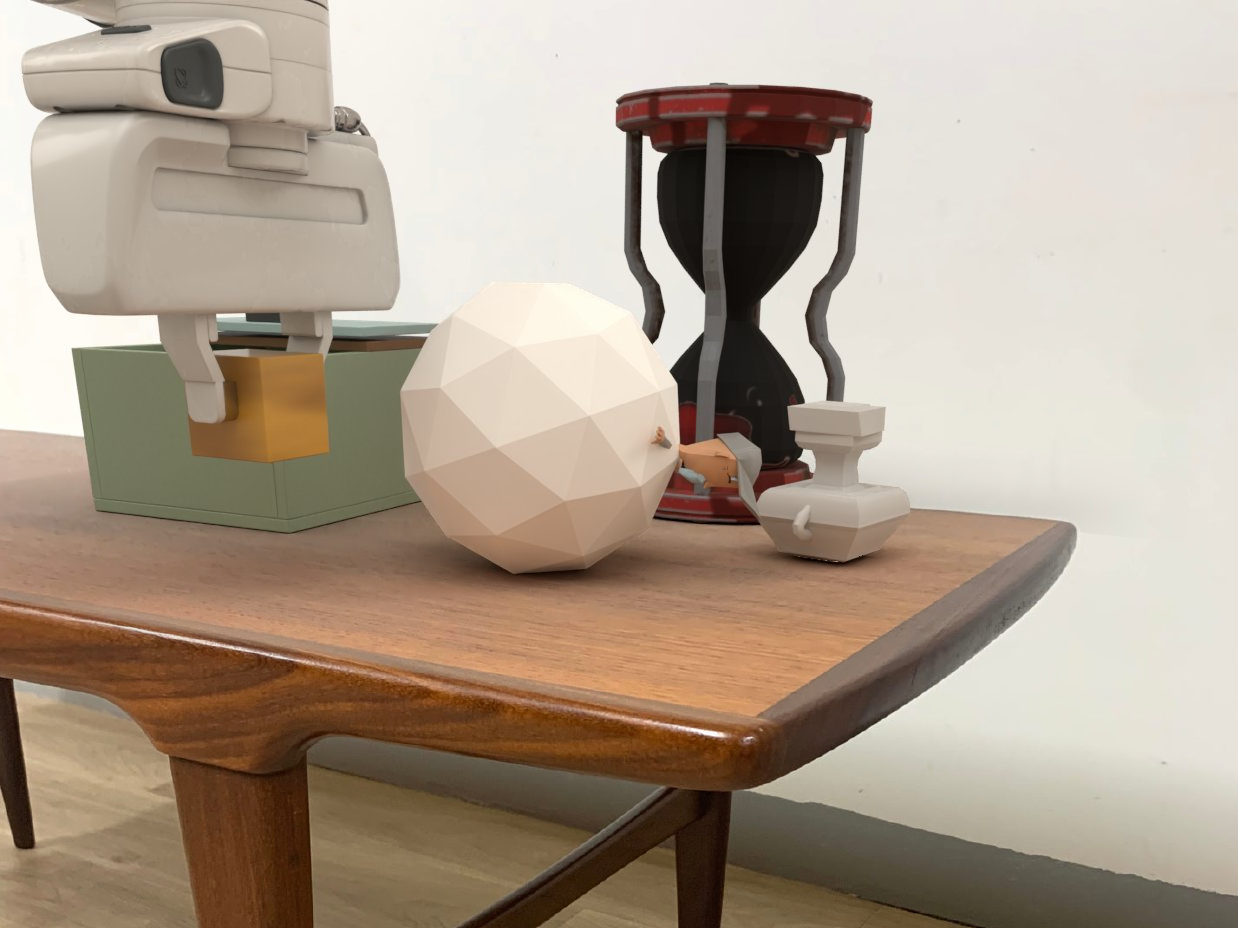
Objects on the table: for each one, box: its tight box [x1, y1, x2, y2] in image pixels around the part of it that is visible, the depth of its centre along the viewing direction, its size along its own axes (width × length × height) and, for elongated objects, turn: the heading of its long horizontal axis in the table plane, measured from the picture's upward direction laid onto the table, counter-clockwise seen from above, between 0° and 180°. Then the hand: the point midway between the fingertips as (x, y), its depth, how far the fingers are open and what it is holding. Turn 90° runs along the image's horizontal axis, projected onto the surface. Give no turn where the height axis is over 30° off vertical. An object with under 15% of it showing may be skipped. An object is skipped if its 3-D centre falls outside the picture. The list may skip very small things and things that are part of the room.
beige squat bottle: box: [757, 400, 911, 563], centre depth 73 cm, size 9×7×8 cm
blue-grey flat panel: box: [216, 313, 440, 337], centre depth 87 cm, size 16×9×4 cm, turn 65°
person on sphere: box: [400, 281, 762, 575], centre depth 68 cm, size 14×15×20 cm
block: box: [184, 349, 329, 463], centre depth 61 cm, size 5×5×5 cm
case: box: [71, 331, 428, 534], centre depth 87 cm, size 16×18×11 cm
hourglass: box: [615, 82, 874, 524], centre depth 86 cm, size 16×16×25 cm
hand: (257, 416), depth 62 cm, fingers closed on block, 4 cm apart
